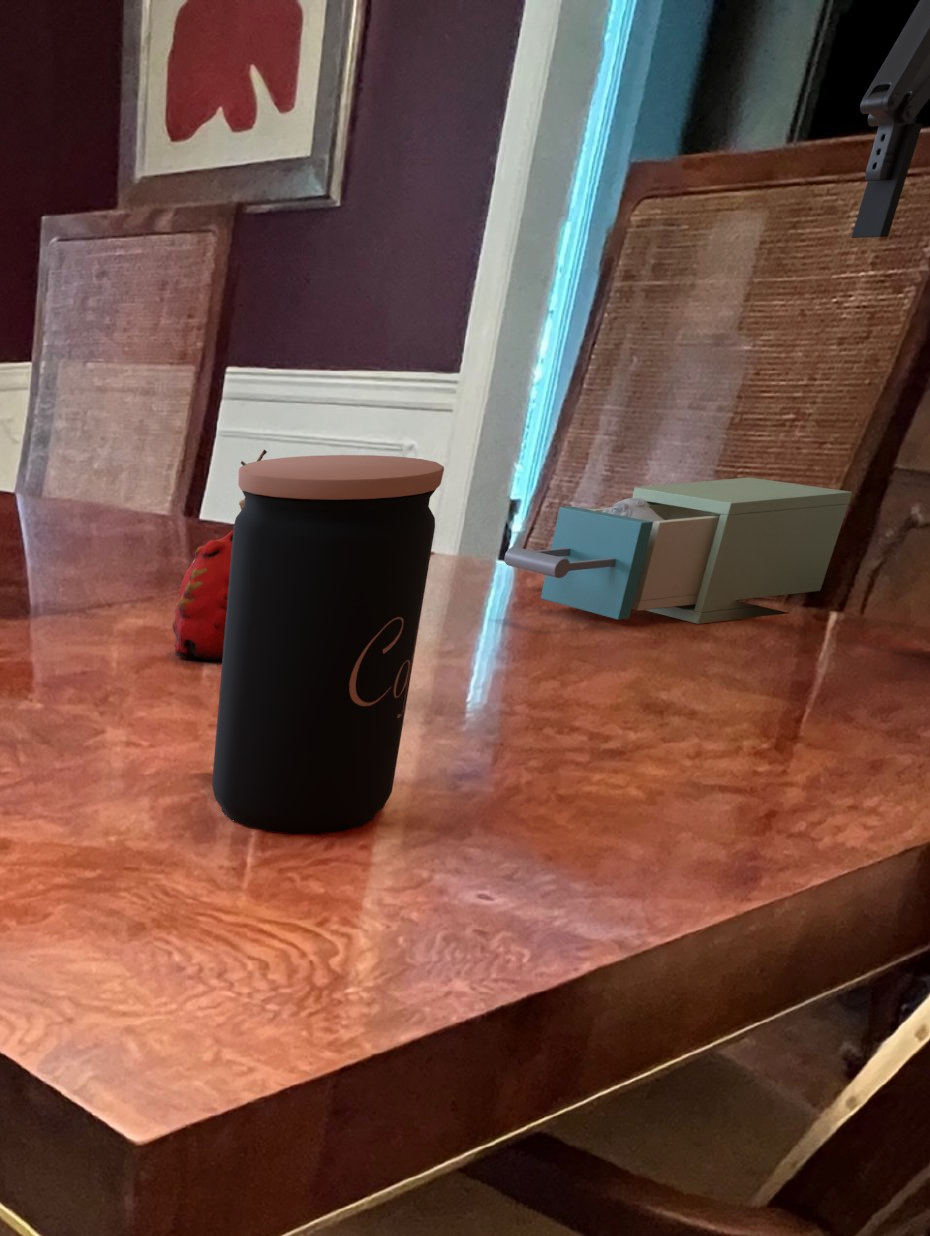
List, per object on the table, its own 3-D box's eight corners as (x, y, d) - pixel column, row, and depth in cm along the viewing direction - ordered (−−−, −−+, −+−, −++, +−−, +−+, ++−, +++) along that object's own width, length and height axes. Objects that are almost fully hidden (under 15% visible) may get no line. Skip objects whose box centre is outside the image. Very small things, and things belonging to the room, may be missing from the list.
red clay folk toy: (199, 642, 120) (214, 442, 111) (272, 650, 116) (294, 445, 107) (157, 659, 115) (169, 452, 106) (232, 668, 112) (251, 455, 102)
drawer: (557, 626, 116) (578, 528, 112) (482, 605, 124) (499, 512, 120) (727, 607, 120) (754, 512, 116) (644, 587, 128) (666, 497, 124)
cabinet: (697, 624, 119) (731, 503, 114) (607, 600, 128) (634, 487, 123) (814, 610, 122) (852, 491, 117) (718, 588, 131) (749, 477, 126)
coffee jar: (354, 849, 77) (409, 482, 66) (181, 822, 82) (206, 474, 71) (411, 797, 84) (469, 457, 73) (249, 774, 89) (281, 452, 78)
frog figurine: (590, 581, 126) (614, 493, 121) (669, 590, 122) (695, 500, 118) (567, 587, 122) (590, 497, 118) (647, 596, 118) (674, 503, 114)
